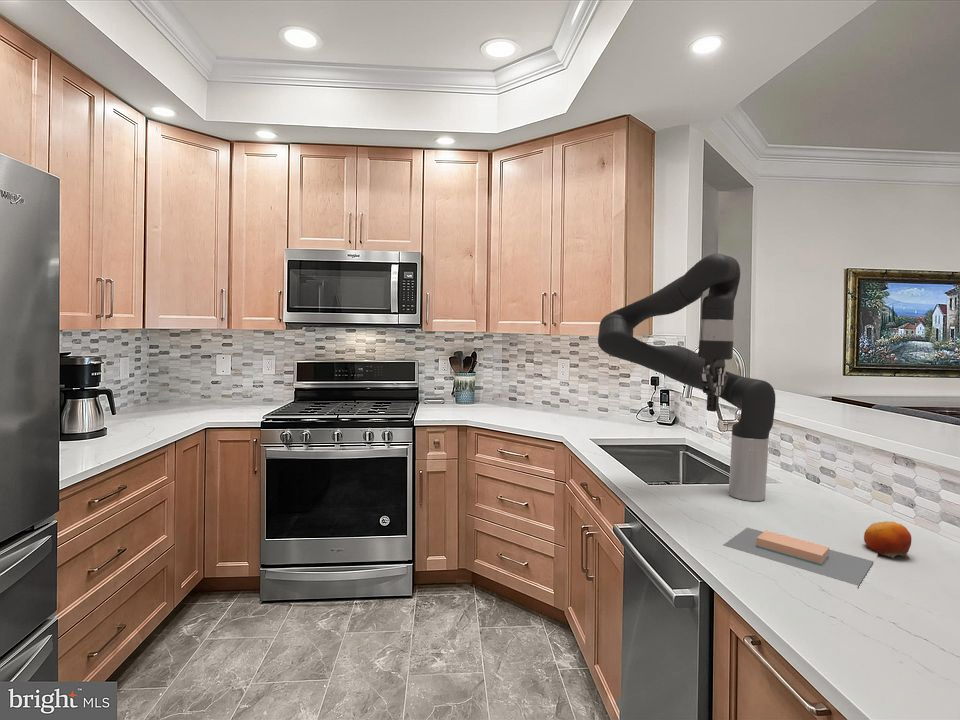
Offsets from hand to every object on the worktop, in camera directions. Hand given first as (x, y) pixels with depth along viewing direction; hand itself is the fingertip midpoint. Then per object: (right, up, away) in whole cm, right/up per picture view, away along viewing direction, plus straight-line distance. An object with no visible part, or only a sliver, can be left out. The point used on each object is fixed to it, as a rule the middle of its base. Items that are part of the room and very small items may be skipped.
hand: (712, 410), depth 128 cm
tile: (+5, -26, -13) cm, 30 cm away
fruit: (+30, -29, -15) cm, 45 cm away
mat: (+10, -28, -18) cm, 35 cm away
